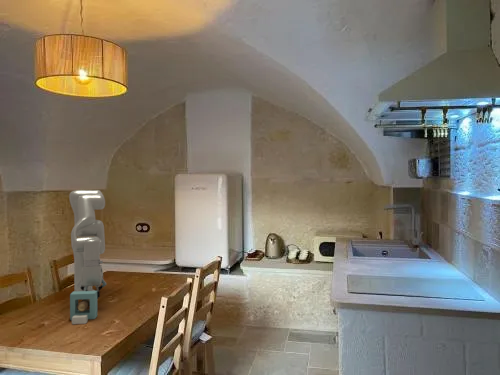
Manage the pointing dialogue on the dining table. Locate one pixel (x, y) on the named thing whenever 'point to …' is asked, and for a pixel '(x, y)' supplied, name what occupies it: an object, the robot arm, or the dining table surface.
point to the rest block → (79, 319)
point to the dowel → (83, 305)
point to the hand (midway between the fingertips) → (92, 298)
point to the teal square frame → (83, 295)
